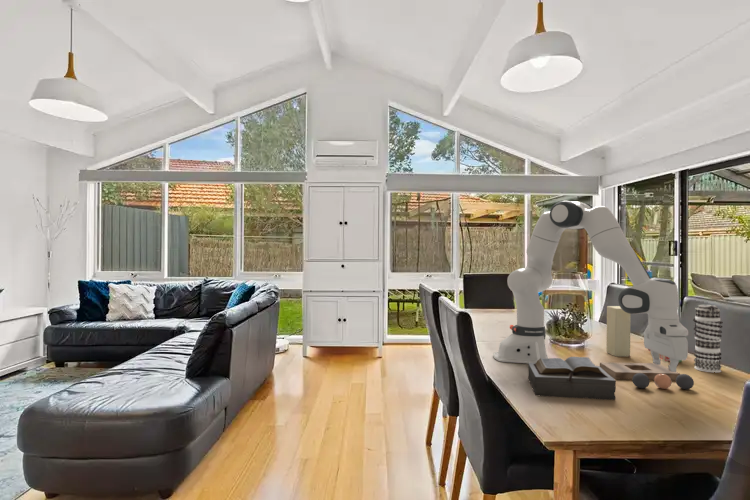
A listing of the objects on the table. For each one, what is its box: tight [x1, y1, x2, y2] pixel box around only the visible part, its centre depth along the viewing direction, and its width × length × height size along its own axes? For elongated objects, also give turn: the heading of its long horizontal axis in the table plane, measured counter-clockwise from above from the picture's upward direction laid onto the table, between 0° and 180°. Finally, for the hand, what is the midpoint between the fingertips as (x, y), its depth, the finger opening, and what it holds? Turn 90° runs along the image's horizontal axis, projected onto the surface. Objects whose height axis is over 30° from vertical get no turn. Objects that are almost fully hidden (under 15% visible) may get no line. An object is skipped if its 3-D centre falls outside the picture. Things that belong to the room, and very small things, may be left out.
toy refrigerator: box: [606, 305, 632, 357], centre depth 199 cm, size 8×7×21 cm
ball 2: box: [675, 373, 695, 390], centre depth 150 cm, size 5×5×5 cm
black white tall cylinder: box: [692, 304, 723, 374], centre depth 174 cm, size 9×9×25 cm
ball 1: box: [631, 373, 651, 389], centre depth 152 cm, size 5×5×5 cm
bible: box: [527, 356, 617, 401], centre depth 151 cm, size 23×27×10 cm
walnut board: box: [599, 361, 681, 381], centre depth 168 cm, size 22×14×2 cm, turn 85°
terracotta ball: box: [653, 373, 673, 390], centre depth 151 cm, size 5×5×5 cm
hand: (664, 367), depth 151 cm, fingers open, 8 cm apart
